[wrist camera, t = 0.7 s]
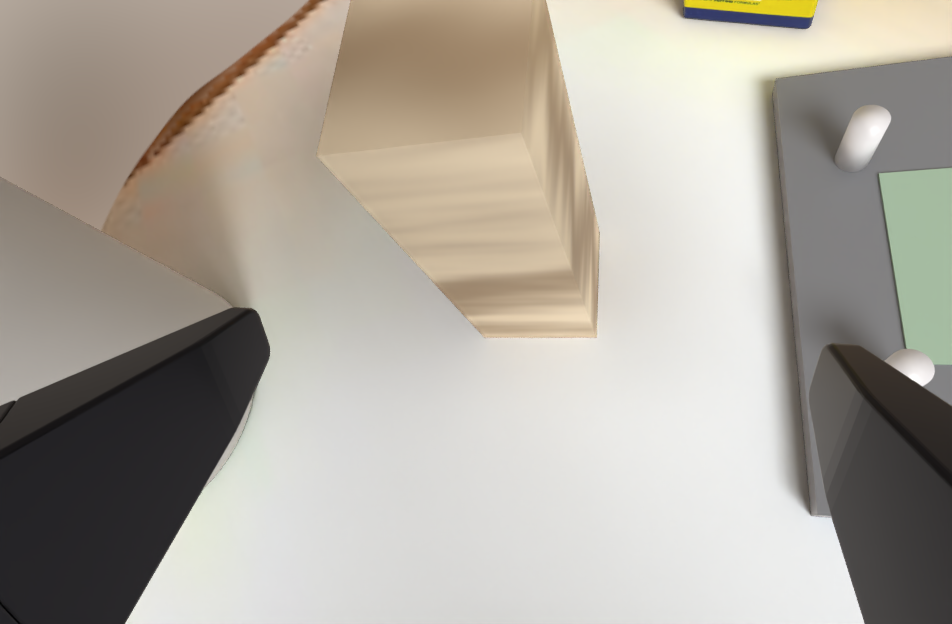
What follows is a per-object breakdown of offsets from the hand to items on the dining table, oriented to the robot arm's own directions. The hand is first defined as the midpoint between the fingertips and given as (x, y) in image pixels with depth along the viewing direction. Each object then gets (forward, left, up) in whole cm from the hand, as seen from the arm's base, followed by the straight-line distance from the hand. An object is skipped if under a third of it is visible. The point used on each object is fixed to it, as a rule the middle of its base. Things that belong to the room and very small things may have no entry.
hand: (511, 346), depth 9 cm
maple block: (+8, +3, -15) cm, 17 cm away
